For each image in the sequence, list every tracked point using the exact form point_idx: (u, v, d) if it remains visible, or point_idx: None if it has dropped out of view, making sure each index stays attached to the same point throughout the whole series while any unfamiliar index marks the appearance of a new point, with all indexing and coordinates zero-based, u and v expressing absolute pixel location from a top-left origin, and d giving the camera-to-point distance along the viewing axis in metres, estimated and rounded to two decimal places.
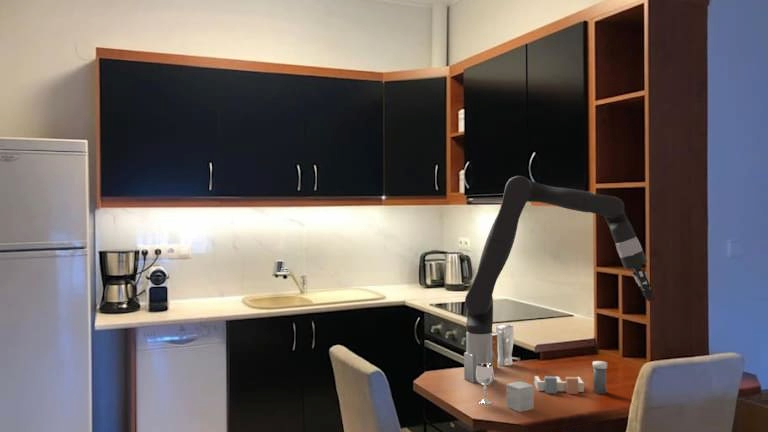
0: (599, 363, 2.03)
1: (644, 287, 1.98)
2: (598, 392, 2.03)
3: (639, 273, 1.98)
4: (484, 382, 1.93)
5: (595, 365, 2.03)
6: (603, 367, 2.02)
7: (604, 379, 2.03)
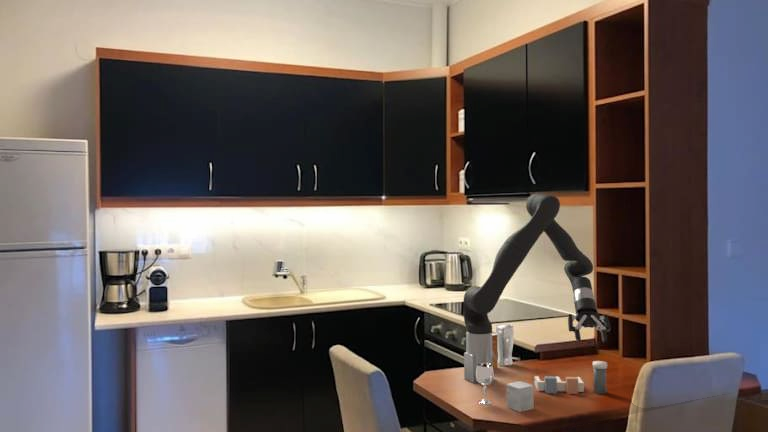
0: (599, 363, 2.03)
1: None
2: (598, 392, 2.03)
3: None
4: (484, 382, 1.93)
5: (595, 365, 2.03)
6: (603, 367, 2.02)
7: (604, 379, 2.03)
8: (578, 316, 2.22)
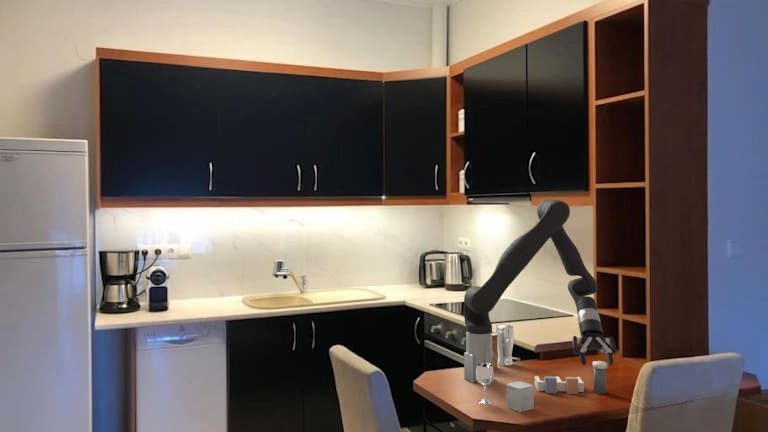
0: (599, 363, 2.03)
1: None
2: (598, 392, 2.03)
3: None
4: (484, 382, 1.93)
5: (595, 365, 2.03)
6: (603, 367, 2.02)
7: (604, 379, 2.03)
8: (583, 338, 2.14)
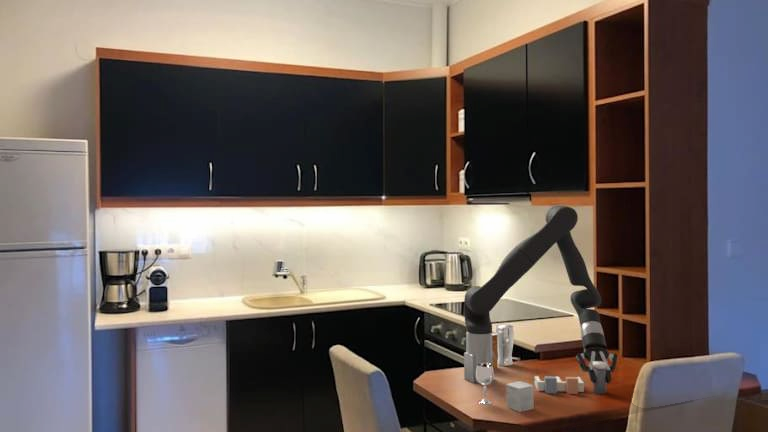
0: (599, 363, 2.03)
1: (614, 368, 2.05)
2: (598, 392, 2.03)
3: (616, 357, 2.08)
4: (484, 382, 1.93)
5: (595, 365, 2.03)
6: (603, 367, 2.02)
7: (604, 379, 2.03)
8: (586, 353, 2.09)
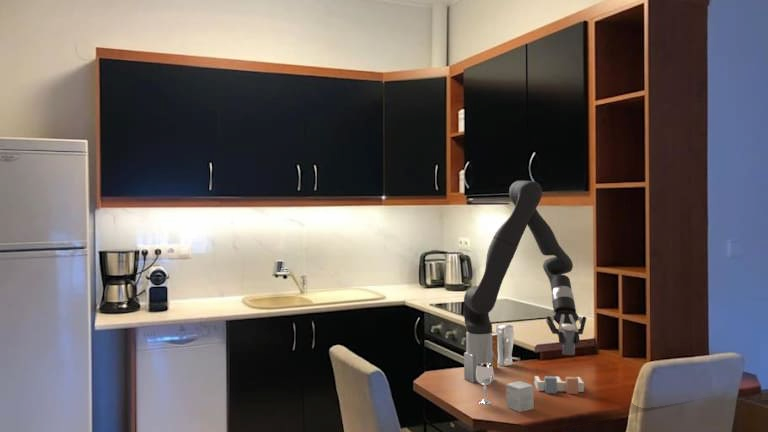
0: (568, 325, 2.08)
1: None
2: (566, 353, 2.08)
3: (585, 319, 2.12)
4: (484, 382, 1.93)
5: (564, 327, 2.08)
6: (571, 329, 2.07)
7: (572, 340, 2.07)
8: (556, 316, 2.14)
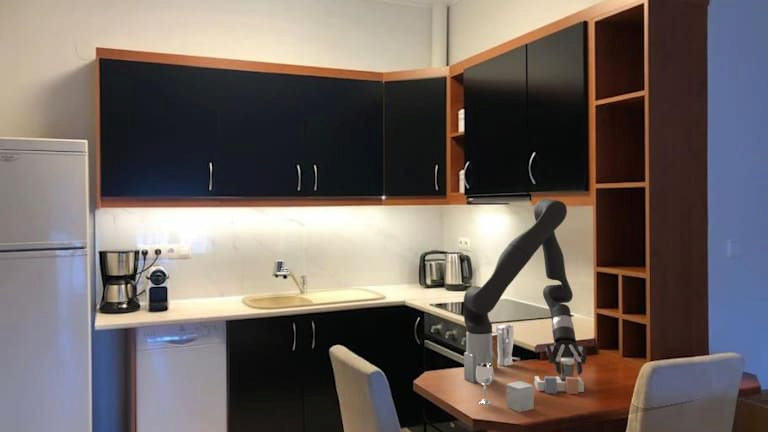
0: (567, 359, 2.09)
1: (585, 360, 2.10)
2: None
3: None
4: (484, 382, 1.93)
5: (563, 361, 2.08)
6: (570, 363, 2.07)
7: (571, 375, 2.08)
8: (556, 346, 2.14)
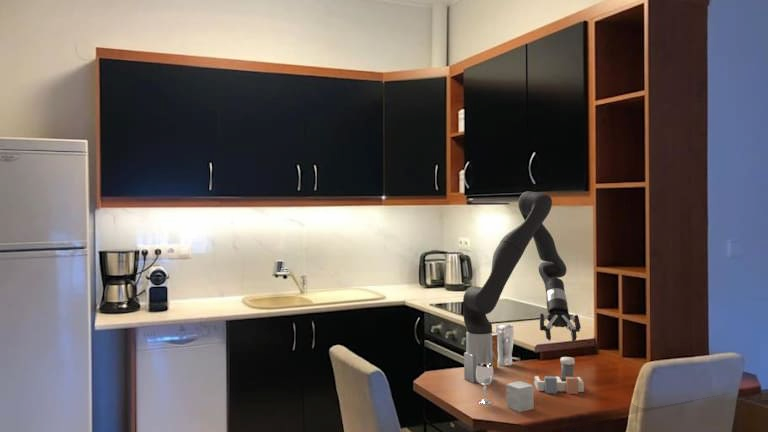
0: (567, 359, 2.09)
1: None
2: None
3: None
4: (484, 382, 1.93)
5: (563, 361, 2.08)
6: (570, 363, 2.07)
7: (571, 375, 2.08)
8: (549, 316, 2.27)
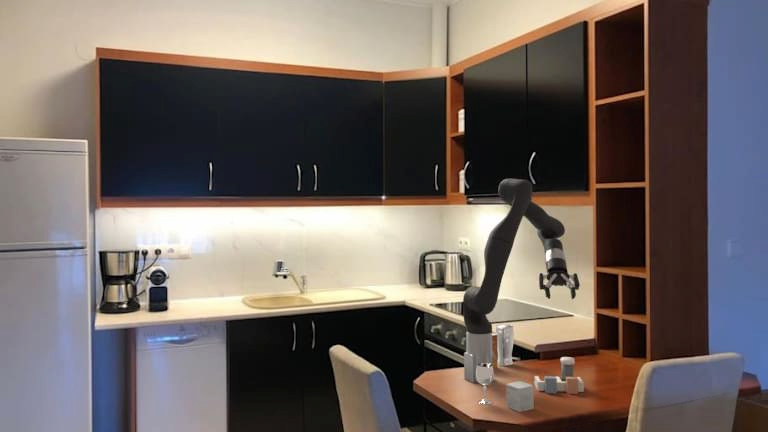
0: (567, 359, 2.09)
1: None
2: None
3: None
4: (484, 382, 1.93)
5: (563, 361, 2.08)
6: (570, 363, 2.07)
7: (571, 375, 2.08)
8: (549, 275, 2.29)
